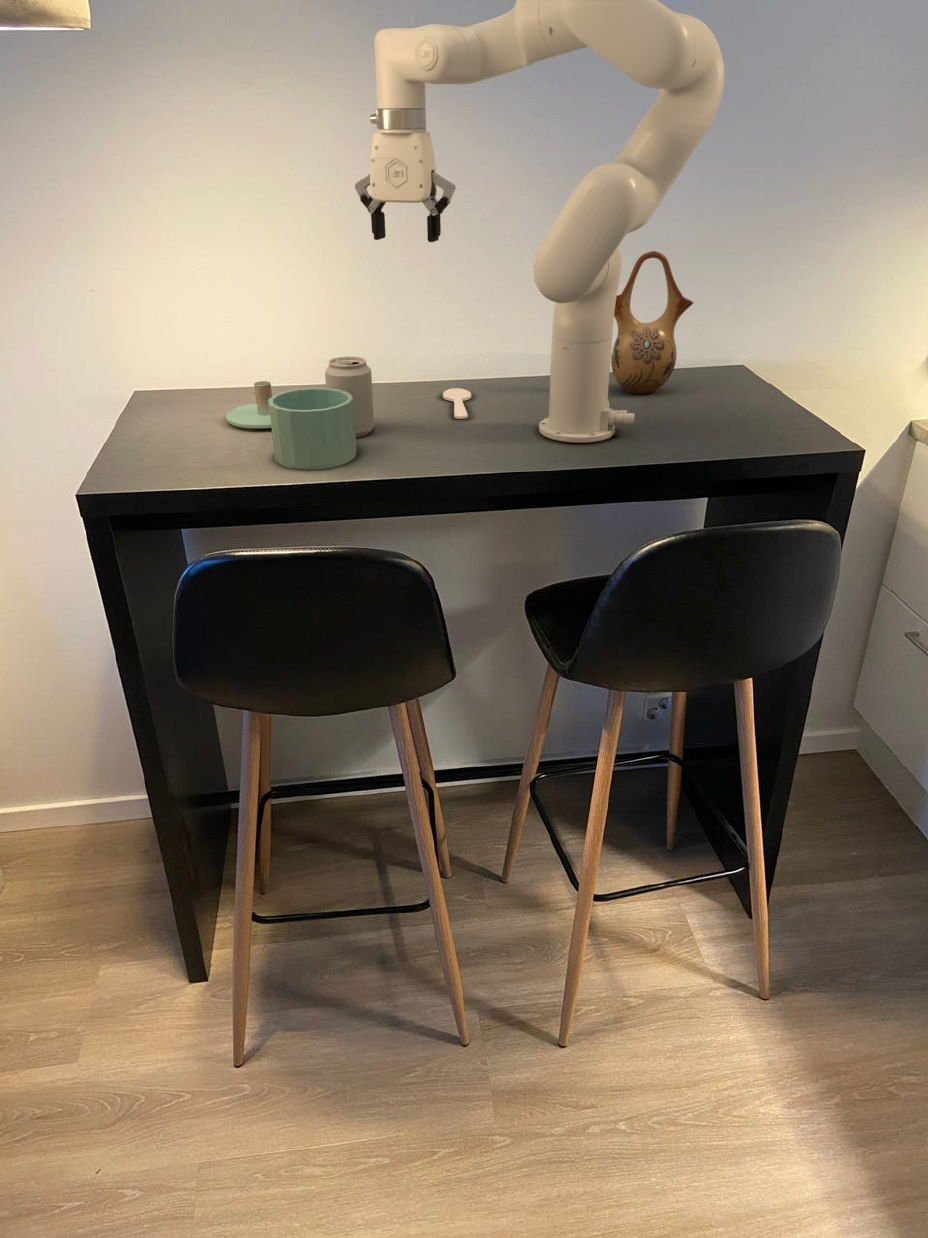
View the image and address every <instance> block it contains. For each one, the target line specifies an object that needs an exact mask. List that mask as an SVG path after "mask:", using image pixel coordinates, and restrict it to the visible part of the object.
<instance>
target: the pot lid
mask: <svg viewBox="0 0 928 1238" xmlns="http://www.w3.org/2000/svg"><path fill="white" fill-rule="evenodd" d="M253 387H254V395H255V402H254V403H248V404H244V405H240V406H237V407H235V408H232V409H230V410H229V411H227V412H226V414H225V420H226V422H227V423H228V424H230V425H232V426H234V427H238V428H243V429H259V430H260V429H261V430H262V429H271V420H270V411H269V403H268V400H269V399H270V398H271V397H272V396H273V392H272V390H273V389H272V384H271V381H268V380H267V381H266V380H261V381H256V382H254V383H253Z"/></svg>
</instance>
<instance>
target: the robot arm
mask: <svg viewBox="0 0 928 1238" xmlns="http://www.w3.org/2000/svg"><path fill="white" fill-rule="evenodd" d="M586 48H589V49H591V50H592V51H593V52H595V53H596V54H598V56H600V57H601V58H602V59H605V60H606V61H607V62H608V63H610V64H611V65H613V66H614V67H615V68H616V69H617V70H619V71H621V72H622V73H623V74H625V75H626V76H627V77H629V78H630V79H631V80H632V81H634V82H636V83H638V84H640V85H642V86H643V87H646V88H649V89H655V90H659V93H658V96H657V97H656V100H655V101H654V103H653V104H652V105H651V107H650V108H649V110H648V111H647V112H646V113H645V115H644V116H643V117H642V119H641V120H640V122H639V123H638V125H637V126H636V128H635V129H634V132H633V134H632V135H631V137H630V138H629V140H628V141H627V143H626V144H625V146H624V147H623V149H622V151H621V152H620V153H619V155H617V157H616V158H615V159H614V161H612V162H608V163H604V164H601V165H599V166H597V167H595V168H593V169H592V170H591V171H589V172H588V173H587V174H586V175H585V176H584V177H583V178H582V179H581V180H580V181H579V182H578V184H576V186H575V188H574V189H573V191H572V193H571V194H570V196H569V198H568V199H567V201H566V202H565V204H564V206H563V208H562V209H561V211H559V214H558V215H557V217H556V219H555V220H554V222H553V224H552V225H551V227H550V228H549V230H548V232H547V234H546V235H545V237H544V238H543V240H542V242H541V243H540V246H539V247H538V249H537V252H536V254H535V257H534V261H533V265H532V266H533V267H532V268H533V269H532V271H533V274H532V275H533V279H534V283H535V285H536V287H537V290H538V291H539V293H541V295H542V296H543V297H544V298H545V299H547V300H549V301H551V302H554V308H553V315H552V324H551V325H552V326H551V327H552V328H551V347H550V369H549V371H550V372H549V375H550V376H549V396H548V397H549V398H548V417H545V418H544V419H542V420H541V421H540V422H539V423H538V432H539V433H540V434H541V435H542V436H543V437H545V438H547V439H550V440H554V441H558V442H563V443H572V444H573V443H574V444H586V443H596V442H601V441H605V440H608V439H610V438H612V436H614V435H615V433H616V425H623V426H634V425H635V414H636V413H634V412H633V413H632V412H628V410H627V409H615V410H614V409H613V408H612V407H611V408H610V400H608V399H609V385H610V370H611V354H612V344H613V331H614V322H615V321H614V320H615V317H614V311H615V303H616V297H617V295H618V291H619V285H620V280H621V274H622V252H621V249H620V246H619V245H620V244H621V243H622V241H623V240H624V238H625V237H626V236H627V234H630V233H633V232H635V231H637V230H639V229H640V228H642V227H644V226H645V225H646V224H647V223H648V222H649V221H650V220H651V219H652V217H653V215H654V214H655V212H656V211H657V209H658V207H659V206H660V205H661V203H662V202H663V200H664V198H665V197H666V195H667V194H668V192H669V190H670V189H671V187H672V186H673V185H674V183H675V181H676V180H677V179H678V177H679V176H680V174H681V173H682V171H683V169H684V167H685V166H686V164H687V163H688V161H689V159H690V158H691V156H692V155H693V154H694V153H695V151H696V149H697V148H698V146H699V145H700V143H701V141H702V140H703V138H704V137H705V135H706V133H708V131H709V129H710V127H711V125H712V124H713V121H714V120H715V117H716V115H717V112H718V110H719V108H720V105H721V101H722V97H723V93H724V88H725V87H724V86H725V64H724V59H723V54H722V51H721V48H720V45H719V43H718V40H717V38H716V36H715V34H714V33H713V31H712V29H710V28H709V26H708V25H706V23H704V22H703V21H702V20H700V19H699V18H697V17H695V16H692V15H689V14H685V13H681V12H677V11H673V10H672V9H670V8H669V7H667V6H666V5H664V4H663V3H661V2H660V1H658V0H515V3H514V6H513V8H511V9H510V10H509V11H507V12H506V13H504V14H502V15H499V16H496V17H494V18H491V19H488V20H487V19H486V20H484V21H481V22H478V23H476V24H472V25H467V26H459V25H452V24H441V23H431V24H425V25H421V26H417V27H413V28H409V27H408V28H407V27H392V28H390V27H389V28H382V29H380V30H378V31H377V32H376V34H375V35H374V66H375V67H374V68H375V69H374V70H375V86H376V88H375V89H376V106H377V107H376V108H377V109H376V110H375V111H376V113H372V114H370V115H369V121H370V123H371V124H372V125H374V124H375V125H376V129H377V130H378V131H377V132H373V133H372V141H371V149H370V163H369V165H370V166H369V173H368V175H366V176H364V177H363V178H361V179H360V180H358V181H356V182H354V188H355V190H356V193H357V195H358V197H359V200H360V202H361V203H362V205H363V206H364V207H365V208H366V210H367V212H368V213H369V214H370V223H371V233H372V234H373V240H374V241H380V240H382V239H385V238H386V218H385V217H386V216H385V212H384V211H383V210H382V209H383V208H384V206H385V205H386V203H401V204H402V203H405V204H406V203H407V204H420V203H422V205H423V206H424V208H426V210H427V211H428V212H429V214H428V215H427V216H426V229H427V230H426V231H427V232H426V233H427V235H426V236H427V242H428V243H435V242H437V241H439V238H440V236H441V235H442V233H441V231H442V229H441V228H442V227H441V223H442V222H441V214H443V213H444V211H445V210H446V209H447V207H448V206H449V204H450V203H451V200H452V198H453V196H454V193H455V191H456V185H455V184H454V183H452V182H451V181H450V180H448V179H446V178H444V177H443V176H442V175H440V174H439V173H437V169H436V159H435V152H434V145H433V140H432V136H431V132H430V131H429V132H428V131H427V109H426V108H427V107H426V106H427V105H426V102H427V101H426V84H429V85H460V86H462V85H469V84H475V83H477V82H482V81H486V80H489V79H492V78H495V77H499V76H502V75H505V74H508V73H512V72H514V71H516V70H520V69H522V68H525V67H529V66H531V65H533V64H536V63H538V62H542V61H544V60H549V59H551V58H555V57H558V56H562V55H564V54H567V53H571V52H575V51H578V50H582V49H586ZM368 187H369V189H370V191H369V192H370V194H369V192H368ZM438 187H439V188H441V190H442V192H443V193H442V196H441V197H440V198H439V200H438V199H437V198H436V197H437V192H438V191H437V189H438Z"/></svg>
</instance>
